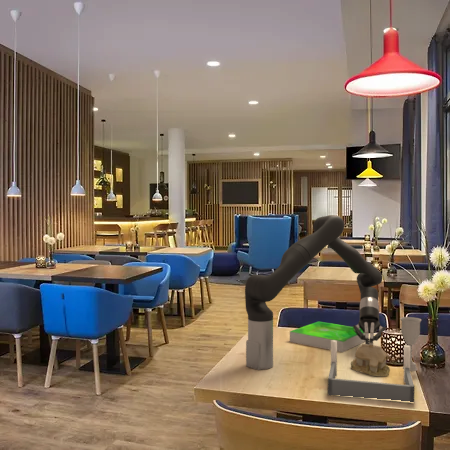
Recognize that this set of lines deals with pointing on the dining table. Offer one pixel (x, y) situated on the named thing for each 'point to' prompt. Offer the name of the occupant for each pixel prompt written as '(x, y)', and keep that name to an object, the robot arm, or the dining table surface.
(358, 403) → the dining table surface
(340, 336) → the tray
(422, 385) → the dining table surface
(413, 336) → the chalice
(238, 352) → the dining table surface
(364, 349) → the ceramic model
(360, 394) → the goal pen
